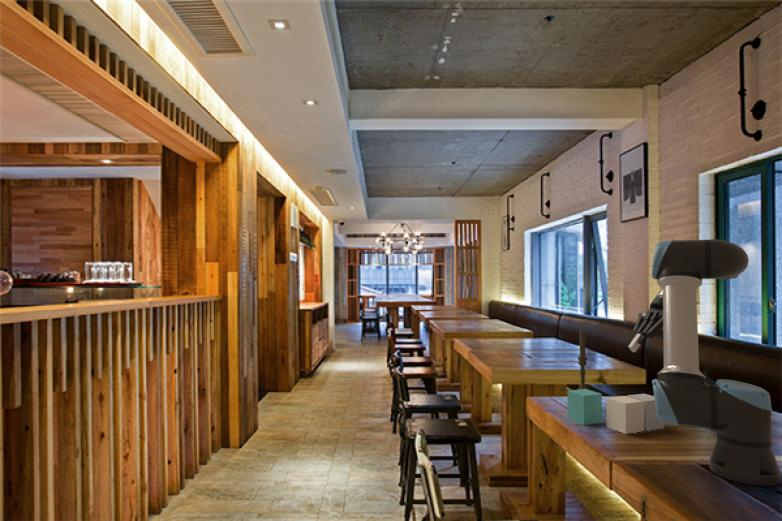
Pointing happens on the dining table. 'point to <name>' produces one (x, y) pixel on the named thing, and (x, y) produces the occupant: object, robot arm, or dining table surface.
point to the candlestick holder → (582, 359)
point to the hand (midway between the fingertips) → (631, 349)
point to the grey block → (649, 412)
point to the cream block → (625, 414)
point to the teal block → (584, 406)
